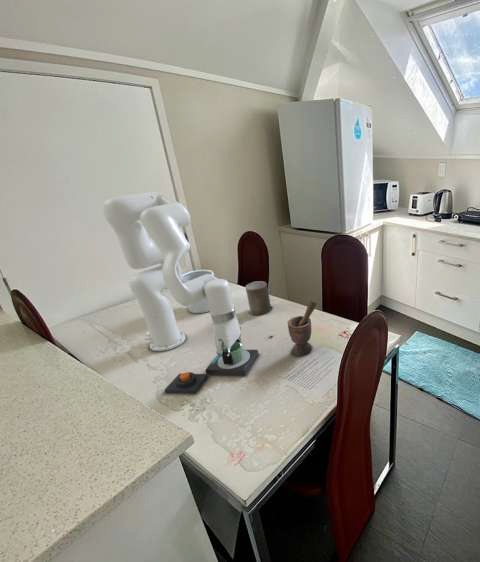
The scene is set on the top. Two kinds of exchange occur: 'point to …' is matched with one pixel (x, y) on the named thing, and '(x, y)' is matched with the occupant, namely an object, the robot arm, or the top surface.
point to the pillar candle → (258, 297)
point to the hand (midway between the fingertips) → (233, 356)
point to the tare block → (186, 384)
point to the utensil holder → (203, 304)
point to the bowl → (236, 352)
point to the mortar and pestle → (301, 330)
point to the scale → (233, 365)
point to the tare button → (184, 377)
